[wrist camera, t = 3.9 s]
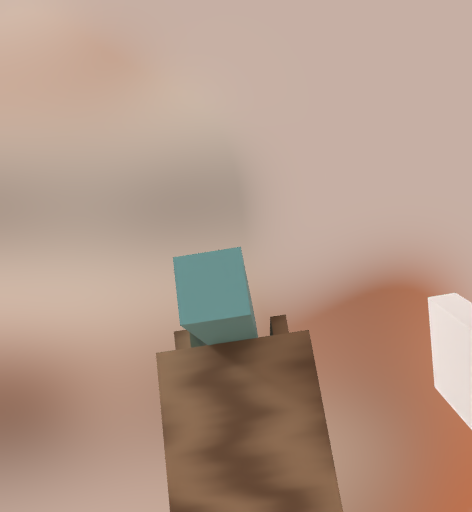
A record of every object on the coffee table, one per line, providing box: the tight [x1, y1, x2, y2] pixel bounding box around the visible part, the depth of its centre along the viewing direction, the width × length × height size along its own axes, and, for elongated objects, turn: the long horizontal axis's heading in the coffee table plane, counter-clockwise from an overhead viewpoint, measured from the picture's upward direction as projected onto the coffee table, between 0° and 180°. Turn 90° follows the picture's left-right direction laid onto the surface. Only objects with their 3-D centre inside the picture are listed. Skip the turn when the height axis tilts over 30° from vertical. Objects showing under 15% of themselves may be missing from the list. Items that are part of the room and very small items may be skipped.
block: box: [173, 247, 258, 345], centre depth 33 cm, size 3×25×3 cm, turn 176°
